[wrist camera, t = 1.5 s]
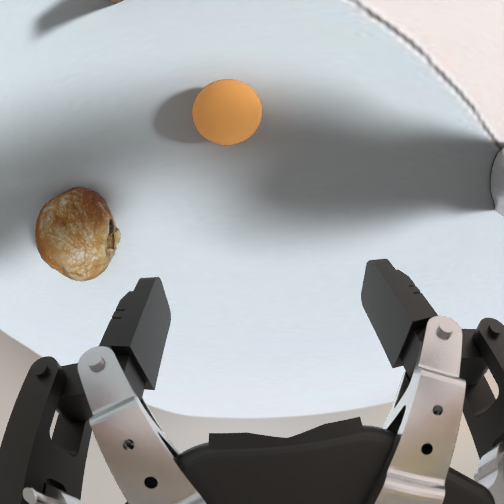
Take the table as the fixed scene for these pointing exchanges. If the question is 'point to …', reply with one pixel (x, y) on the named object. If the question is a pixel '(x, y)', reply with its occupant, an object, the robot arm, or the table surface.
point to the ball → (227, 112)
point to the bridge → (116, 1)
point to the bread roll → (77, 234)
